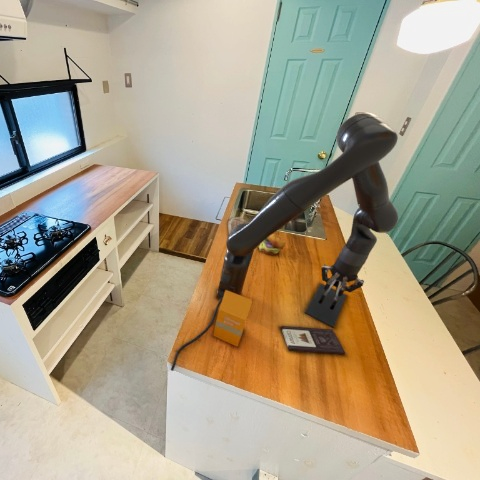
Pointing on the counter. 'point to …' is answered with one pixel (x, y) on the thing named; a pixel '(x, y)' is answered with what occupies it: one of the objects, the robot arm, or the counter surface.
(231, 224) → the fish fossil
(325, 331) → the chocolate bar
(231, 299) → the orange juice
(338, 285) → the tongs
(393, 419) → the counter surface
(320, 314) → the mat
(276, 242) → the cheeseburger
